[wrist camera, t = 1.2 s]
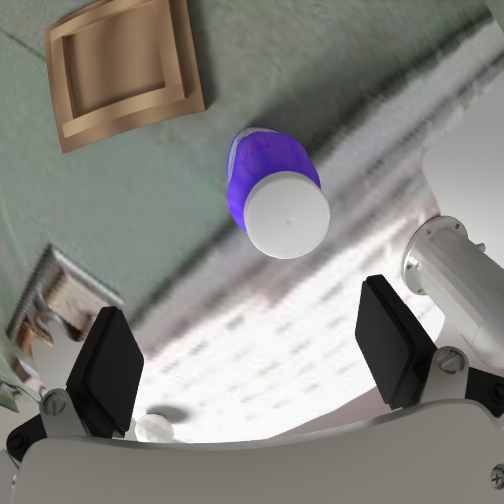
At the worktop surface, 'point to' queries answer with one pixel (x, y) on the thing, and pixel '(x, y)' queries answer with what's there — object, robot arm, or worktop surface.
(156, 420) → the geometric ball
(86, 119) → the walnut base
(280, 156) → the bottle
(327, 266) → the worktop surface
